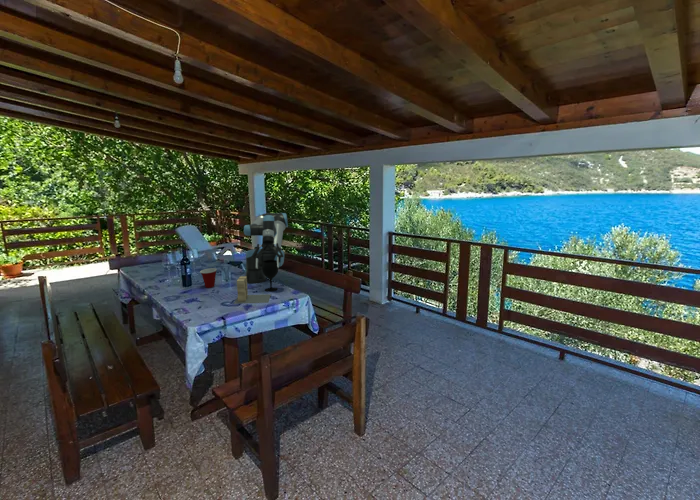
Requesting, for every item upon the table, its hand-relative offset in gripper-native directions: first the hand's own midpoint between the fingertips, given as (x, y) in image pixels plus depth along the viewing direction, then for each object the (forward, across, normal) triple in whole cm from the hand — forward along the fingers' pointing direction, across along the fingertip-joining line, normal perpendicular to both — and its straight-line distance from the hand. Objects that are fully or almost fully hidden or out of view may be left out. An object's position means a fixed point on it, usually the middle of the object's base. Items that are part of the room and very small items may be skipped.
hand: (267, 267), depth 223 cm
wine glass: (+12, 0, +12) cm, 17 cm away
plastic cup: (+6, -43, +20) cm, 48 cm away
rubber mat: (+22, -7, -4) cm, 23 cm away
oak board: (+21, -13, -5) cm, 25 cm away
